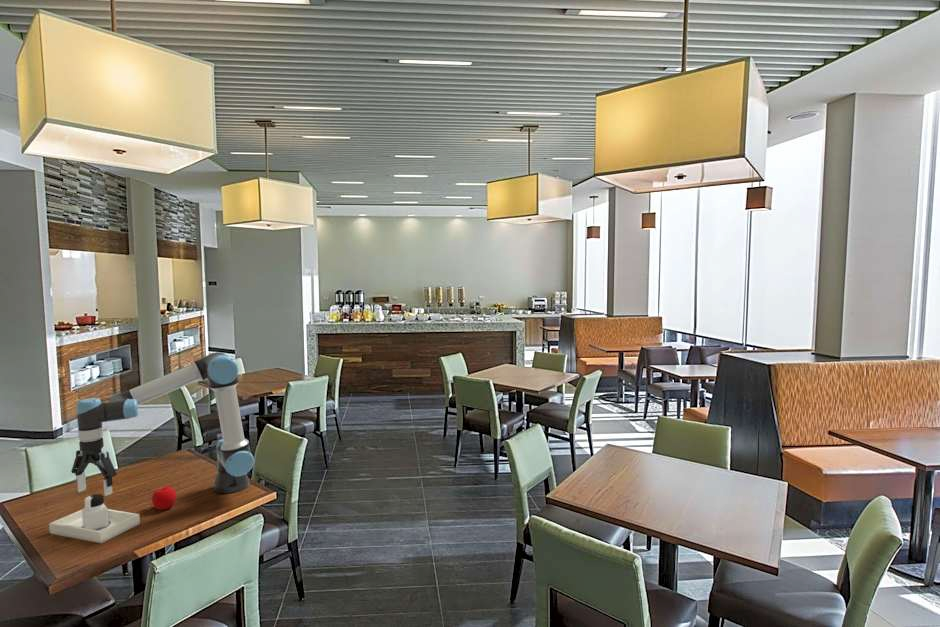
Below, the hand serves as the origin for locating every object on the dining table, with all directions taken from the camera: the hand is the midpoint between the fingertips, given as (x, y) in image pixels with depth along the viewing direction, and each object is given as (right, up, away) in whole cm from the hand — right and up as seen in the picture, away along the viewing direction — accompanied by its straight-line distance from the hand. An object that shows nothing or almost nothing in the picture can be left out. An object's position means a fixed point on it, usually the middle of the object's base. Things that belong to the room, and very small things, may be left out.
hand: (95, 492), depth 204 cm
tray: (0, -14, +1) cm, 14 cm away
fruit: (+16, -13, +19) cm, 28 cm away
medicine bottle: (0, -14, +1) cm, 14 cm away
